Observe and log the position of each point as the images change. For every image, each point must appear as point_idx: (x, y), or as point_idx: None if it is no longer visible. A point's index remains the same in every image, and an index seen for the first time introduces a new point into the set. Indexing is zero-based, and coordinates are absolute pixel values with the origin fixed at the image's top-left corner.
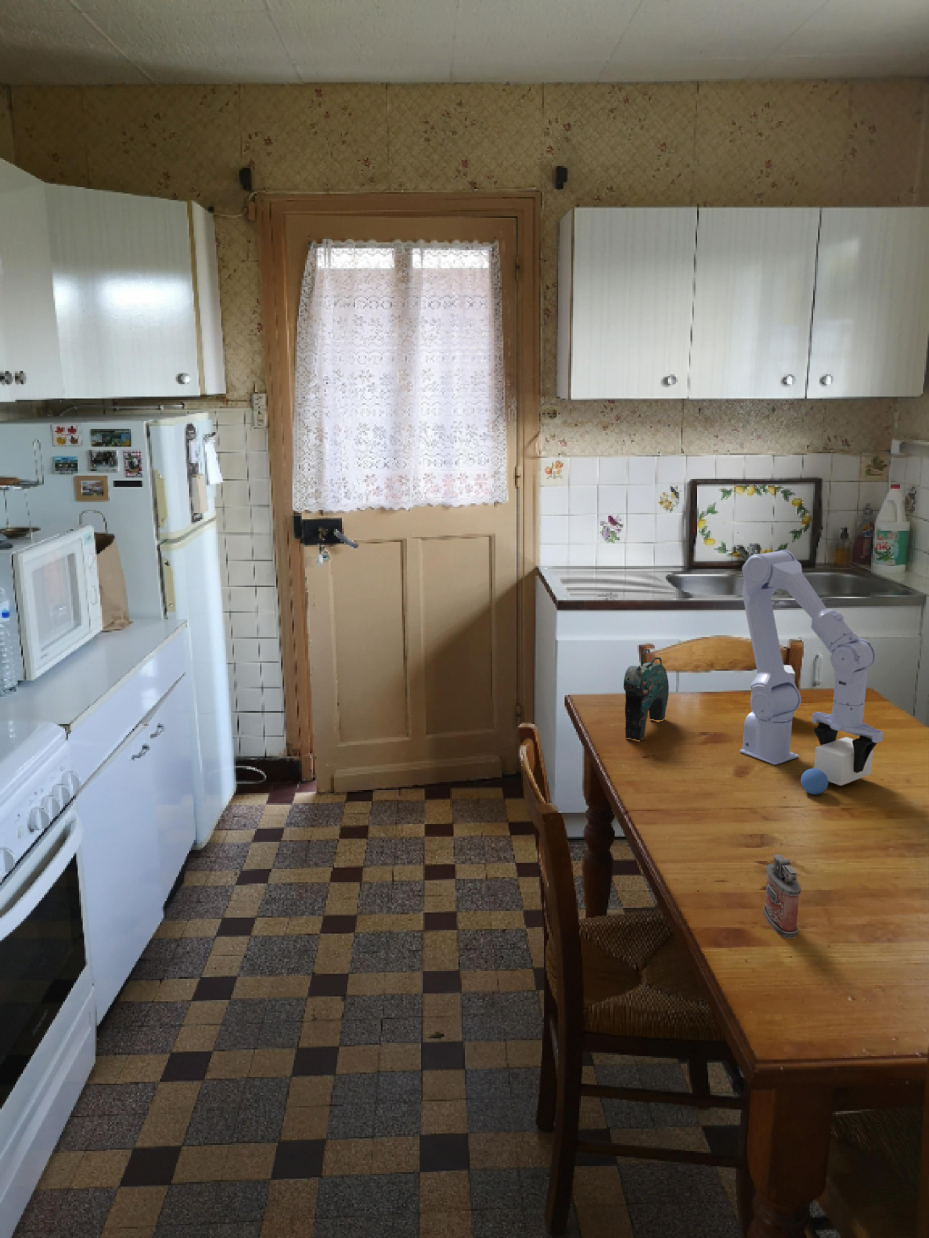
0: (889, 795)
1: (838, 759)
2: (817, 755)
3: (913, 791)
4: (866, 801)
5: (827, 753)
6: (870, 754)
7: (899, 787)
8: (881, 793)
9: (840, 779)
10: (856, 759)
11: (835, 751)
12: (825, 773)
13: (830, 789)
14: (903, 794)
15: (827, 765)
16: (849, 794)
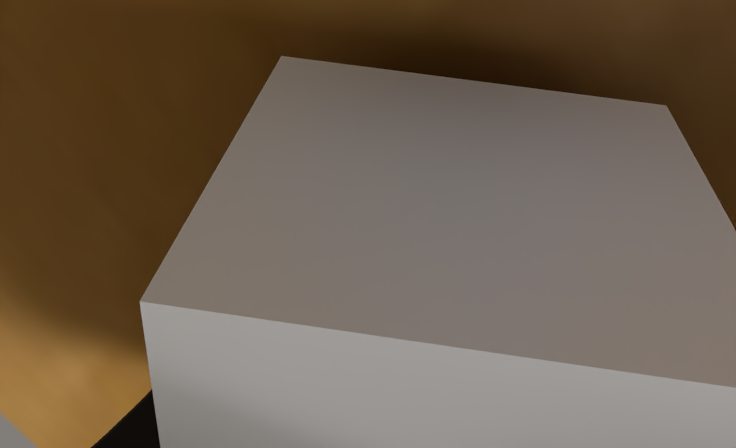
0: (39, 266)
1: (268, 257)
2: (712, 279)
3: (21, 405)
4: (28, 26)
5: (516, 323)
6: None
7: (109, 409)
8: (95, 261)
9: (273, 87)
10: (150, 427)
11: (401, 426)
12: (501, 121)
13: (418, 41)
14: (10, 335)
15: (486, 185)
16: (224, 63)
